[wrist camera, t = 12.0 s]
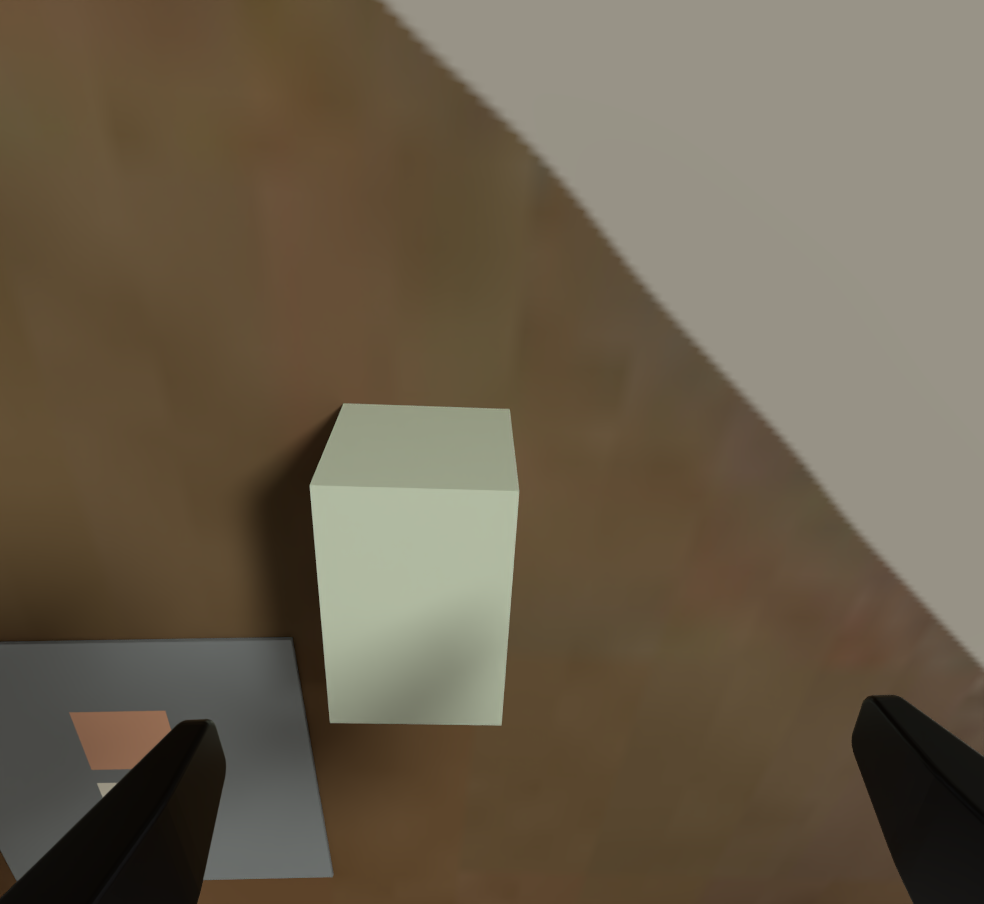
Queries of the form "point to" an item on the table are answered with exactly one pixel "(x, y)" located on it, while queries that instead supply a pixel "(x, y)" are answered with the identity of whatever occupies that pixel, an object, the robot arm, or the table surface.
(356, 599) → the sage block
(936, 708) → the table surface
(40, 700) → the tile
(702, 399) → the table surface
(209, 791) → the robot arm
